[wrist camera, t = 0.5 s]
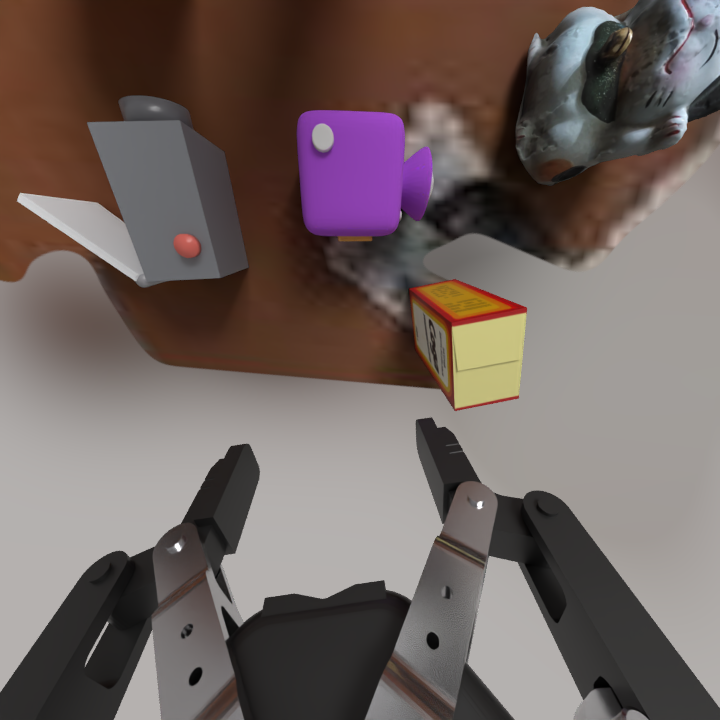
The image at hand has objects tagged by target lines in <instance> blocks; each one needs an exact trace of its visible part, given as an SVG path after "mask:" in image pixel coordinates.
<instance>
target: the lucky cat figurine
mask: <svg viewBox="0 0 720 720" xmlns="http://www.w3.org/2000/svg"><path fill="white" fill-rule="evenodd" d="M718 110H720V0H639V1H638V3H637V4H636V5H635V7H634V8H632V9H630V10H629V11H627V12H625V13H623V14H620V15H618V16H615V17H613V16H612V15H609V14H607V13H606V12H605V11H603V10H600V9H597V8H594V7H583V8H579V9H577V10H575V11H573V12H571V13H569V14H568V15H567V16H566V17H565V18H564V19H563V20H562V21H561V23H560V24H559V25H558V26H557V28H556V29H555V30H554V31H553V32H552V33H551V34H550V35H549V36H548V37H547V38H545V39H540V38H539V35H538V34H537V33H536V34H535V35H534V38H533V40H532V43H531V45H530V48H529V50H528V58H527V76H526V83H525V90H524V94H523V98H522V102H521V107H520V111H519V115H518V119H517V123H516V130H515V135H516V137H515V138H516V149H517V153H518V157H519V159H520V160H521V162H522V163H523V165H524V167H525V169H526V170H527V172H528V173H529V174H530V175H531V177H532V178H533V179H534V180H535V181H537V182H538V183H539V184H545V185H548V186H552V185H554V184H557V183H558V182H561V181H565V180H568V179H570V178H572V177H574V176H576V175H578V174H580V173H582V172H583V171H584V170H586V169H587V168H589V167H590V166H593V165H596V164H598V163H600V162H604V161H609V160H614V159H619V158H624V157H628V156H632V155H638V156H642V155H645V154H648V153H651V152H654V151H656V150H660V149H666V148H668V147H670V146H672V145H674V144H676V143H678V140H680V139H681V138H682V136H683V134H684V132H685V131H686V130H687V126H686V124H687V122H690V121H693V120H695V119H699V118H702V117H706V116H707V115H709V114H711V113H714V112H716V111H718Z"/></svg>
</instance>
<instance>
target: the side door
mask: <svg viewBox="0 0 720 720" xmlns="http://www.w3.org/2000/svg"><path fill="white" fill-rule="evenodd" d="M17 201H18V202H19V203H21V204H22V205H24V206H25V207H27V208H28V209H30V210H31V211H33V212H34V213H36V214H37V215H38V216H40V217H41V218H43V219H44V220H46V221H47V222H49V223H50V224H52V225H53V226H55V227H56V228H58V229H59V230H61V231H62V232H64V233H65V234H67V235H68V236H69V237H71V238H72V239H74V240H75V241H77V242H78V243H80V244H81V245H83V246H84V247H86V248H87V249H89V250H90V251H92V252H93V253H95V254H96V255H98V256H99V257H100V258H102V259H103V260H105V261H106V262H108V263H109V264H111V265H112V266H114V267H115V268H117V269H118V270H120V271H121V272H123V273H124V274H126V275H127V276H128V277H130V278H131V279H133V280H134V281H136V283H137V284H138V285H139V286H140V287H148V286H152V285H155V284H159V283H163V282H166V281H151V282H147V280H146V278H145V275H144V273H143V270H142V267H141V265H140V262H139V259H138V257H137V254H136V251H135V249H134V246H133V243H132V241H131V238H130V235H129V233H128V230H127V227H126V225H125V223H124V222H123V221H121V220H120V219H119V218H117V217H116V216H115V215H113V214H112V213H111V212H109V211H108V210H107V209H105V208H104V207H103V206H101V205H100V204H99V203H95V202H87V201H79V200H71V199H64V198H56V197H48V196H40V195H32V194H24V193H20V195H19V197H18V200H17Z"/></svg>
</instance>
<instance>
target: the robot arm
mask: <svg viewBox="0 0 720 720" xmlns="http://www.w3.org/2000/svg"><path fill="white" fill-rule="evenodd" d="M416 442H417V450H418V454H419V458H420V461H421V464H422V466H423V469H424V472H425V475H426V478H427V481H428V484H429V486H430V489H431V492H432V495H433V498H434V501H435V504H436V506H437V509H438V512H439V515H440V518H441V521H442V524H444V526H443V529H442V531H441V534H440V536H437V537H436V539H435V541H434V543H433V546H432V548H431V551H430V554H429V557H428V559H427V562H426V565H425V567H424V570H423V573H422V575H421V578H420V581H419V584H418V586H417V589H416V592H415V594H414V597H413V600H412V601H411V600H410V599H408V598H407V597H405V596H403V595H401V594H398V593H396V592H393V591H388V590H386V588H385V582H384V580H383V581H377V582H369V583H362V584H356V585H353V586H351V587H349V588H347V589H345V590H343V591H341V592H339V593H337V594H335V595H332V596H330V597H328V598H326V599H320V598H314V597H309V596H304V595H299V594H289V595H282V596H275V597H268V598H265V600H264V605H263V610H261V611H259V612H258V613H256V614H254V615H253V616H252V617H250V618H249V619H248V620H246V621H245V622H243V620H242V618H241V616H240V614H239V612H238V609H237V607H236V604H235V601H234V598H233V596H232V593H231V590H230V587H229V584H228V581H227V578H226V575H225V573H224V570H223V567H222V565H221V562H222V560H223V557H224V555H228V554H234V553H235V552H236V549H237V546H238V543H239V540H240V537H241V534H242V530H243V527H244V524H245V521H246V518H247V515H248V511H249V509H250V505H251V503H252V499H253V496H254V493H255V490H256V486H257V484H258V481H259V475H260V471H259V466H258V463H257V461H256V458H255V456H254V454H253V451H252V449H251V447H250V445H249V444H242V445H235V446H231V447H230V448H229V450H228V452H227V454H226V456H225V458H224V459H220V460H219V461H218V462H217V463H216V464H215V465H214V466H213V467H212V468H211V469H210V471H209V473H208V475H207V476H206V478H205V481H204V482H203V484H202V486H201V489H200V490H199V491H198V493H197V495H196V497H195V499H194V501H193V502H192V504H191V506H190V508H189V510H188V512H187V514H186V515H185V517H184V519H183V521H182V523H181V524H179V525H177V526H176V527H173V528H172V529H170V530H169V531H168V532H167V533H165V534H164V535H163V537H162V538H161V539H160V540H159V541H158V543H157V544H156V546H155V547H153V548H151V549H148V550H146V551H144V552H141V553H139V554H137V555H135V556H132V557H129V556H128V555H127V554H126V553H125V552H123V551H116V552H112V553H110V554H107V555H106V556H104V557H102V558H101V559H99V560H98V561H97V562H95V563H94V564H93V565H92V566H91V567H89V569H87V570H86V572H85V573H84V574H83V575H82V576H81V578H80V579H79V580H78V582H77V583H76V585H75V586H74V588H73V589H72V590H71V592H70V593H69V595H68V596H67V598H66V599H65V601H64V602H63V604H62V605H61V606H60V608H59V609H58V611H57V612H56V614H55V615H54V616H53V618H52V619H51V621H50V622H49V623H48V625H47V626H46V628H45V629H44V631H43V632H42V634H41V635H40V636H39V638H38V639H37V641H36V642H35V644H34V645H33V646H32V648H31V650H30V651H29V652H28V654H27V655H26V656H25V658H24V659H23V661H22V662H21V664H20V665H19V667H18V668H17V669H16V671H15V672H14V674H13V675H12V677H11V678H10V679H9V681H8V682H7V684H6V685H5V687H4V688H3V689H2V691H1V692H0V720H114V718H115V715H116V713H117V711H118V708H119V706H120V703H121V701H122V699H123V697H124V694H125V692H126V690H127V687H128V685H129V683H130V680H131V678H132V675H133V673H134V671H135V669H136V666H137V664H138V661H139V659H140V657H141V654H142V652H143V650H144V647H145V645H146V642H147V640H148V638H149V636H150V633H151V631H152V630H153V639H154V650H155V660H156V670H157V680H158V690H159V700H160V710H161V720H514V718H513V717H512V716H511V715H510V714H509V713H508V711H507V710H506V709H505V708H504V707H503V705H502V704H501V703H500V702H499V701H498V699H497V698H496V697H495V696H494V695H493V694H492V692H491V691H490V690H489V689H488V688H487V686H486V685H485V684H484V683H483V682H482V681H481V679H480V678H479V677H478V676H477V675H476V674H475V672H474V671H473V670H472V669H471V667H470V666H469V665H468V659H469V654H470V649H471V644H472V638H473V634H474V629H475V624H476V618H477V613H478V608H479V602H480V597H481V592H482V587H483V582H484V578H485V573H486V568H487V563H488V558H489V556H493V557H497V558H502V559H507V560H511V561H515V562H518V564H519V566H520V568H521V570H522V572H523V574H524V576H525V579H526V581H527V583H528V585H529V587H530V589H531V591H532V593H533V595H534V597H535V600H536V602H537V604H538V606H539V608H540V610H541V612H542V614H543V616H544V618H545V621H546V623H547V625H548V627H549V629H550V631H551V633H552V635H553V637H554V639H555V641H556V644H557V646H558V648H559V650H560V652H561V654H562V656H563V658H564V660H565V662H566V665H567V666H568V669H569V671H570V673H571V675H572V677H573V679H574V681H575V683H576V685H577V687H578V690H579V692H580V694H581V696H582V698H583V700H584V701H583V702H582V703H581V704H580V706H579V707H578V708H577V710H576V712H575V716H574V720H720V708H719V707H718V705H717V704H716V703H715V702H714V700H713V699H712V698H711V696H710V695H709V694H708V692H707V691H706V689H705V688H704V687H703V685H702V684H701V683H700V681H699V680H698V679H697V677H696V676H695V675H694V673H693V672H692V671H691V669H690V668H689V667H688V666H687V664H686V663H685V661H684V660H683V659H682V658H681V656H680V655H679V654H678V652H677V651H676V650H675V648H674V647H673V646H672V644H671V643H670V642H669V640H668V639H667V638H666V636H665V635H664V634H663V632H662V631H661V630H660V628H659V627H658V626H657V624H656V623H655V622H654V620H653V619H652V618H651V616H650V615H649V614H648V612H647V611H646V610H645V609H644V607H643V606H642V604H641V603H640V602H639V600H638V599H637V598H636V596H635V595H634V594H633V592H632V591H631V590H630V588H629V587H628V586H627V584H626V583H625V582H624V580H623V579H622V578H621V576H620V575H619V574H618V572H617V571H616V570H615V568H614V567H613V566H612V564H611V563H610V562H609V560H608V559H607V558H606V556H605V555H604V554H603V552H602V551H601V550H600V548H599V547H598V546H597V544H596V543H595V542H594V541H593V539H592V538H591V537H590V535H589V534H588V533H587V532H586V530H585V529H584V527H583V526H582V525H581V523H580V522H579V521H578V519H577V518H576V517H575V515H574V514H573V513H572V511H571V510H570V509H569V507H568V506H567V505H566V504H565V503H564V502H563V501H562V500H561V499H559V498H558V497H556V496H554V495H552V494H550V493H547V492H544V491H531V492H529V493H527V494H526V495H525V497H524V499H520V498H513V497H507V496H502V495H498V494H496V493H494V492H493V491H492V490H491V489H490V488H488V487H487V486H485V485H484V484H482V483H481V482H480V480H479V478H478V477H477V475H476V473H475V471H474V469H473V468H472V466H471V464H470V462H469V460H468V459H467V457H466V455H465V453H464V452H463V450H462V448H461V446H460V445H459V443H458V441H457V439H456V437H455V435H454V434H453V433H452V432H451V431H449V430H448V429H447V428H446V427H442V428H437V426H436V424H435V422H434V420H433V419H432V418H425V419H418V420H416ZM107 621H108V622H109V624H108V626H107V628H106V630H105V632H104V634H103V635H102V637H101V639H100V641H99V643H98V645H97V646H96V648H95V650H94V652H93V654H92V656H91V657H90V659H89V661H88V663H87V665H86V667H85V663H86V660H87V657H88V655H89V653H90V651H91V649H92V648H93V646H94V644H95V642H96V640H97V638H98V637H99V635H100V633H101V631H102V629H103V628H104V626H105V624H106V622H107Z"/></svg>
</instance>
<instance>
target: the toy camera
mask: <svg viewBox="0 0 720 720" xmlns="http://www.w3.org/2000/svg"><path fill="white" fill-rule="evenodd" d="M404 147H405V132H404V124H403V122H402V120H401V118H400V117H398V116H397V115H394V114H391V113H383V112H360V111H335V110H314V111H308V112H305V113H303V114H302V115H301V116H300V117H299V120H298V124H297V149H298V163H299V176H300V189H301V202H302V212H303V219H304V223H305V226H306V228H307V229H308V230H309V231H310V232H311V233H313V234H316V235H320V236H338V241H372V236H385V235H389V234H391V233H393V232H394V231H395V230H396V229H397V227H398V224H399V221H400V220H401V218H402V212H401V211H400V210H401V208H402V209H403V210H404V211H405V212H406V213H407V214H408V215H409V216H410V217H411V218H413V219H414V220H416V221H419V220H421V218H422V217H423V215H424V212H425V210H426V207H427V203H428V200H429V198H430V196H431V193H432V190H433V181H434V180H433V174H432V156H431V152H430V149H429V148H428V147H424V148H422V149H420V150H419V151H418V152H416V153H415V154H414V155H413V156H411V157H410V158H409V159H408V160H407V161H406V162H404Z"/></svg>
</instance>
